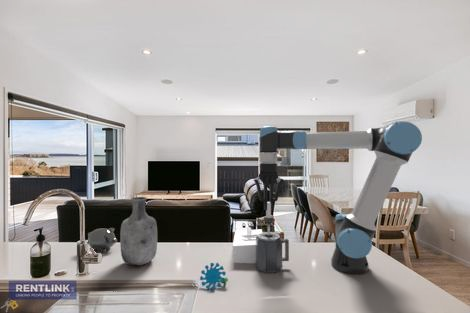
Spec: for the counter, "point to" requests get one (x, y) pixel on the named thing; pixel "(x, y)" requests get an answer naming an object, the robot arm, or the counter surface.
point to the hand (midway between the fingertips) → (268, 217)
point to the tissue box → (245, 245)
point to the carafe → (270, 252)
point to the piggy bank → (102, 239)
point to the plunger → (268, 221)
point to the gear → (213, 276)
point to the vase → (138, 235)
